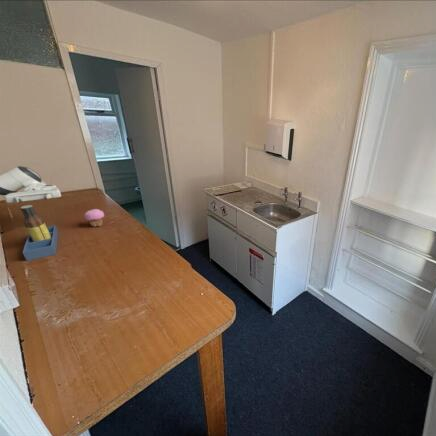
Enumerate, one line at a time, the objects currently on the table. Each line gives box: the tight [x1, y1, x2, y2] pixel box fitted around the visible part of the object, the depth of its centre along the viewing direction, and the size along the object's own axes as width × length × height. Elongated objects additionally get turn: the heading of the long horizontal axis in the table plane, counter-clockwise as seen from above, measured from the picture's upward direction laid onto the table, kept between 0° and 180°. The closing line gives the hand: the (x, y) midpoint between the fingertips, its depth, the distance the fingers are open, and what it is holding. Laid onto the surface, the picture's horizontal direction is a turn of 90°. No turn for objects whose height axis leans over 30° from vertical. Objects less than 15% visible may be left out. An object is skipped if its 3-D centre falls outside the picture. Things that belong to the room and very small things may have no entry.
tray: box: [22, 225, 59, 262], centre depth 113 cm, size 9×27×4 cm, turn 41°
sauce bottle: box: [19, 204, 51, 242], centre depth 110 cm, size 6×6×20 cm
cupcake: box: [83, 208, 105, 228], centre depth 134 cm, size 9×9×10 cm
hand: (32, 199), depth 117 cm, fingers open, 8 cm apart
